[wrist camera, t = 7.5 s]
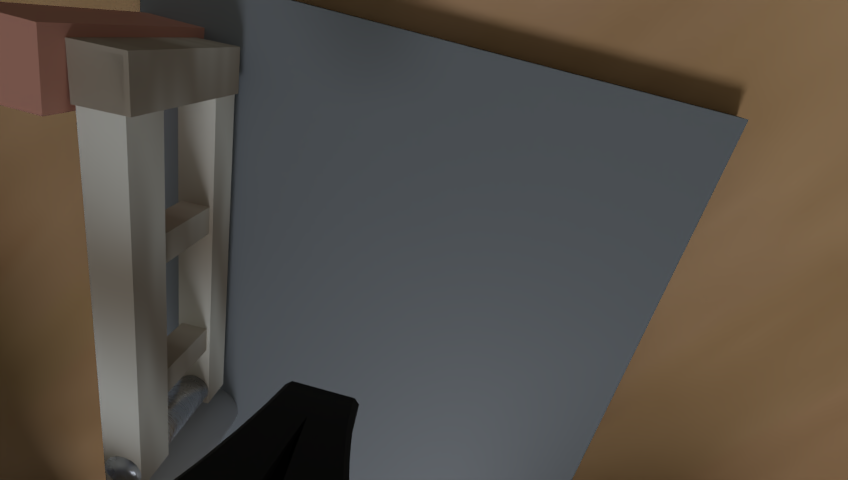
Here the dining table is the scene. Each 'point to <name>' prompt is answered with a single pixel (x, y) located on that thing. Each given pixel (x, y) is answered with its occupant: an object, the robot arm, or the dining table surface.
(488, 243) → the gate frame
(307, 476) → the robot arm
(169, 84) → the gate
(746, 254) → the dining table surface
